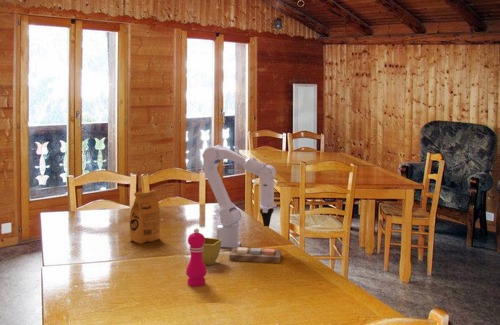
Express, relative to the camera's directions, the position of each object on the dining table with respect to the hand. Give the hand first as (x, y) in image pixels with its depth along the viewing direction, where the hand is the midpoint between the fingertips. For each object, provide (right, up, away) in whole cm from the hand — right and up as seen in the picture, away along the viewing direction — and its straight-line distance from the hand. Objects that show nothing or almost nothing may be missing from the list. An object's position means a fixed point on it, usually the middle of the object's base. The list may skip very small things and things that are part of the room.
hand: (266, 225), depth 255 cm
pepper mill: (-26, -16, -41) cm, 51 cm away
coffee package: (-54, -8, +14) cm, 56 cm away
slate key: (-5, -11, -10) cm, 16 cm away
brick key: (+1, -12, -11) cm, 16 cm away
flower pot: (-24, -13, -17) cm, 32 cm away
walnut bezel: (-5, -12, -10) cm, 16 cm away
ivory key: (-10, -11, -9) cm, 18 cm away
